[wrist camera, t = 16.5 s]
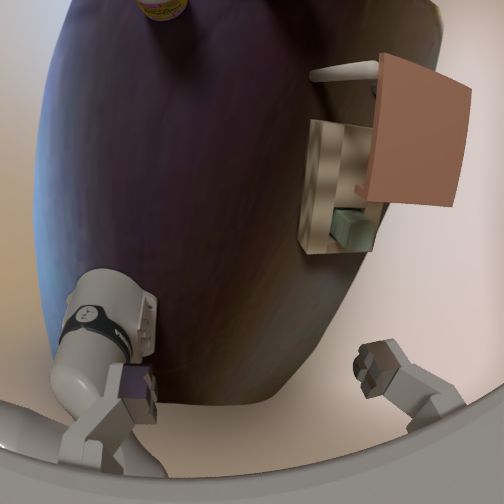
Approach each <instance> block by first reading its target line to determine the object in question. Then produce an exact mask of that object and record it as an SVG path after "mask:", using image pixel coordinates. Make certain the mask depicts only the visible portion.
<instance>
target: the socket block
mask: <svg viewBox="0 0 504 504" xmlns="http://www.w3.org/2000/svg"><path fill="white" fill-rule="evenodd" d="M372 132H373V128H369V127H363V126H357V125H351V124H344V123H337V122H330V121H322V120H313V119H309V120H308V131H307V142H306V152H305V162H304V172H303V181H302V190H301V199H300V208H299V216H298V224H297V232H296V238H297V240H298V241H299V243H300V244H301V246H302V247H303V249H304V251H305V252H306V254H325V253H352V252H372V250H373V246H374V242H375V238H376V234H377V229H378V225H379V221H380V216H381V212H382V207H383V202H372V201H366V200H364V199H363V198H362V197H360V196H359V195H357V194H356V193H355V192H354V190H355V184H365V180H366V174H367V168H368V161H369V154H370V147H371V140H372ZM334 207H349V208H356V209H357V210H358V211H360V212H361V213H362V214H363V215H364V216H366V217H367V218H368V219H369V220H370V221H372V222H373V223H374V224H375V225H376V229H375V233H374V237H373V241H372V245H371V249H370V250H367V251H346V250H345V249H344V247H343V246H342V245H341V244H340V243H339V242H338V240H337V239H336V238H335V237H334V236H333V235H332V234H331V232H330V227H331V221H332V215H333V209H334Z"/></svg>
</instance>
